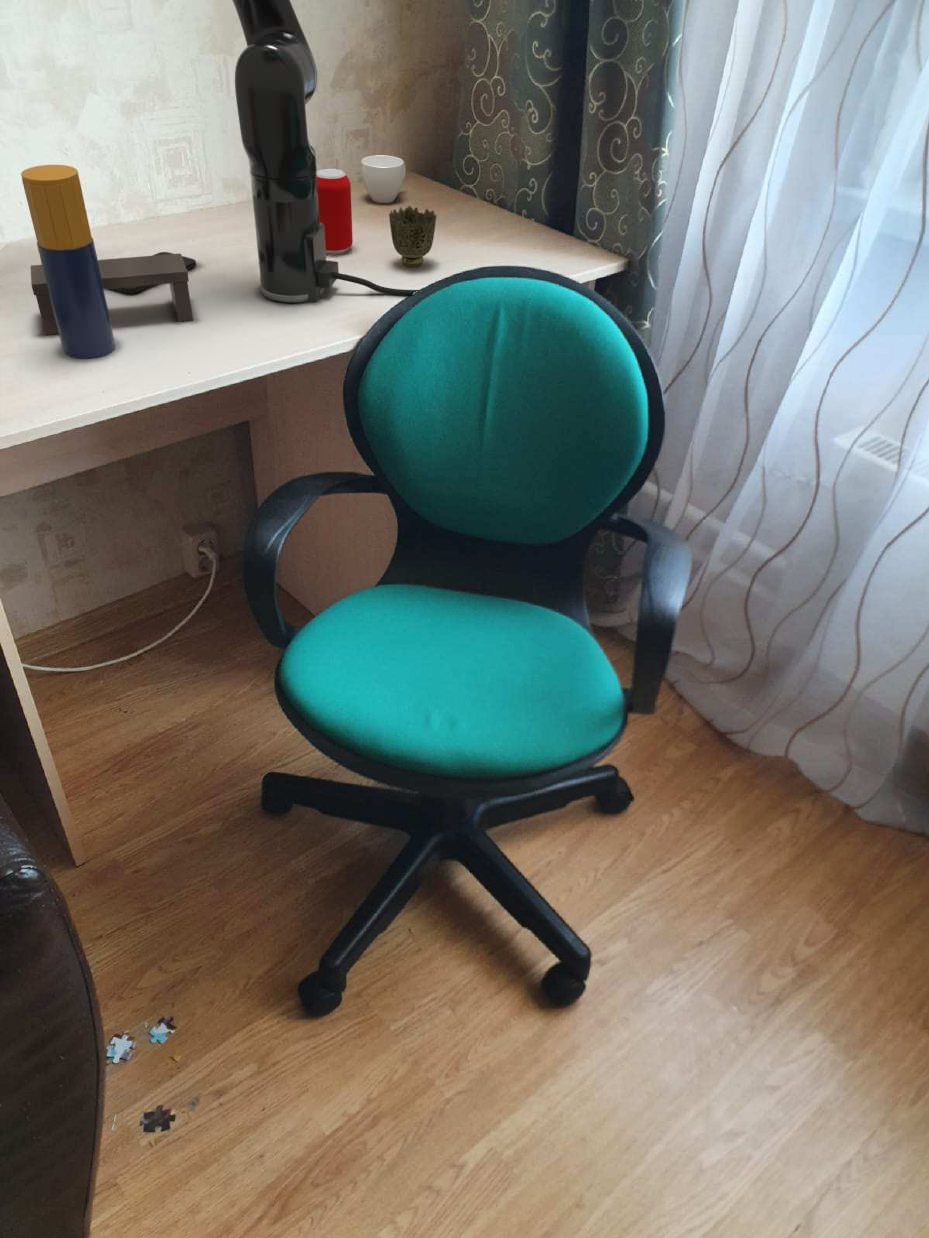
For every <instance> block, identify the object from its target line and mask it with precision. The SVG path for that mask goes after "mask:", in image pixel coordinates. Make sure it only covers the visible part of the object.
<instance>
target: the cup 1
mask: <svg viewBox="0 0 929 1238" xmlns="http://www.w3.org/2000/svg"><path fill="white" fill-rule="evenodd" d="M360 164H361V165H360V166H361V178H362V182H363V185H364V188H365V190H366V192H367V194H368V195H369V197H370V199H371V200H372V202H374V203H379V204H387V203H388V204H389V203H393V202H394V201H395V199H396V198H397V196H398V195H399V193H400V191H401V188H402V185H403V183H404V180H405V178H406V172H407V171H406V165H405V161H404V160H403V159H402V158H400V157H397V156H393V155H385V154H383V155H382V154H377V155H370V156H365V157H363V158H362V159H361V163H360Z"/></svg>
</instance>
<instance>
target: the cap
mask: <svg viewBox="0 0 929 1238" xmlns="http://www.w3.org/2000/svg"><path fill="white" fill-rule="evenodd" d="M20 175H21V182H22V186H23V189H24V194H25V199H26V202H27V205H28V206H27V207H28V209H29V213H30V218H31V222H32V227H33V230H34V234H35V239H36V244H37V243H38V245H39V246H41V247H43V248H45V249H51V250H71V249H77V248H80V247H84V246H86V245H88V244H89V243H91V242H92V238H93V236H92V232H91V228H90V223H89V219H88V214H87V209H86V204H85V199H84V194H83V190H82V189H83V188H82V185H81V180H80V175H79V171H78V169H77V168H75V167H74V166H70V165H66V164H43V165H36V166H32V167H29V168H25V169H24V170H22V171H21V173H20Z"/></svg>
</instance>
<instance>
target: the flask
mask: <svg viewBox="0 0 929 1238" xmlns="http://www.w3.org/2000/svg"><path fill="white" fill-rule="evenodd" d="M36 246H37V250H38V255H39V258H40V262H41V265H42V267H43V271H44V275H45V279H46V283H47V287H48V291H49V295H50V299H51V303H52V307H53V311H54V315H55V319H56V323H57V327H58V331H59V334H58V335H59V339H60V343H61V348H62V351H63V354H64V355H66V356H67V357H69V358H73V359H76V360H77V359H78V360H90V359H91V360H92V359H98V358H101V357H103V356H107V355H109V354H110V353H112V352H113V351H114V350H115V349H116V342H115V337H114V336H115V335H114V332H113V327H112V321H111V317H110V312H109V308H108V304H107V303H108V302H107V299H106V293H105V289H104V288H103V283H102V279H101V274H100V269H99V264H98V260H99V259H98V257H97V256H98V254H97V251H96V246H95V241H94V238H93V237H92V242H91V243H89V244H88V245H86V246H84V247H80V248H77V249H71V250H51V249H45V248H43V247H41V246H39V245H38V243H37V242H36Z"/></svg>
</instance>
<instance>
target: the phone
mask: <svg viewBox="0 0 929 1238" xmlns="http://www.w3.org/2000/svg"><path fill="white" fill-rule="evenodd" d="M167 254H174V253H172V252H169V251H159V252H158V253H155V254H152V255H151V256H154V255H167ZM182 258H183V261H184V264H185V266H186V269H187V271H188V270H190V269H193V268H195V267H196V266H197V260H196V259H194V258H191V257H188V256H184V255H182ZM151 286H153V285H145V286H134V287H123V288H112V290H115V291H119V292H123V293H127V294H135V293H138V292H140V291H142V290H145V289H147V288H149V287H151Z"/></svg>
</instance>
